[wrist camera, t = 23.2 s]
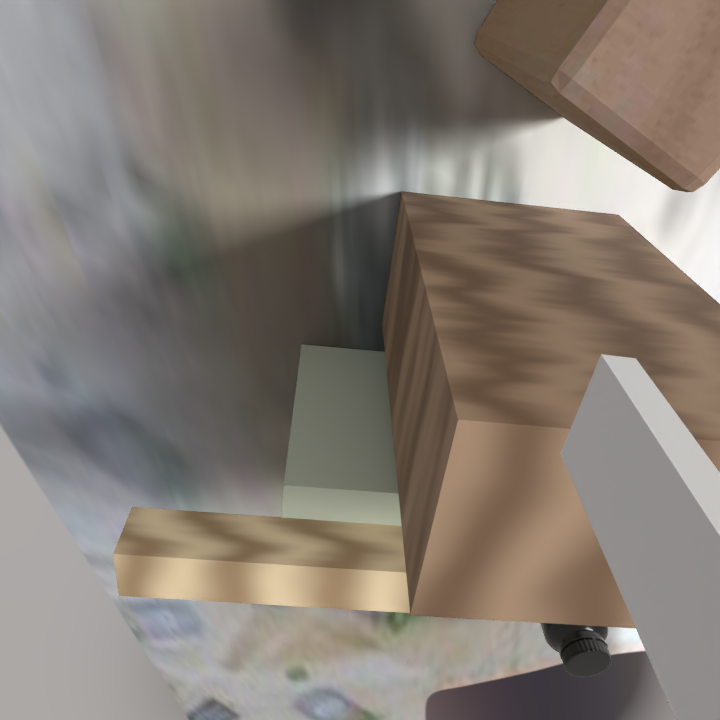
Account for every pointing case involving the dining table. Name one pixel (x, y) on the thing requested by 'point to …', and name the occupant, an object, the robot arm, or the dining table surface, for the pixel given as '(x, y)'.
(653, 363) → the walnut stand
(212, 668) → the dining table surface
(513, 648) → the dining table surface
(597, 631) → the supplement bottle
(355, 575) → the oak rail
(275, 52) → the dining table surface
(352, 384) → the sage plinth
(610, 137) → the wooden block
